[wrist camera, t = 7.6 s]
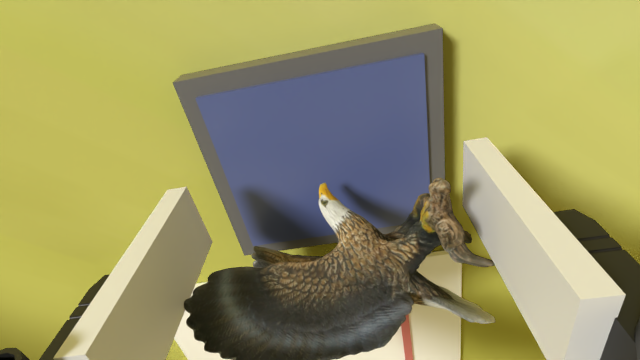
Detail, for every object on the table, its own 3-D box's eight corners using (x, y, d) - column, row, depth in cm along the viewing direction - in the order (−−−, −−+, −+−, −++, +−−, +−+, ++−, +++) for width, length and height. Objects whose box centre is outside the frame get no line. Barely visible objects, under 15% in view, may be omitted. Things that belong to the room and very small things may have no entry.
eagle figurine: (369, 81, 11) (154, 241, 12) (543, 290, 7) (211, 484, 9) (415, 172, 18) (270, 271, 19) (520, 308, 14) (331, 418, 15)
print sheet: (225, 409, 28) (223, 416, 28) (146, 290, 21) (143, 296, 21) (458, 388, 26) (460, 395, 26) (460, 248, 19) (463, 254, 19)
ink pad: (248, 242, 19) (243, 258, 18) (181, 75, 14) (170, 84, 13) (440, 214, 18) (446, 229, 17) (435, 23, 13) (444, 29, 12)
